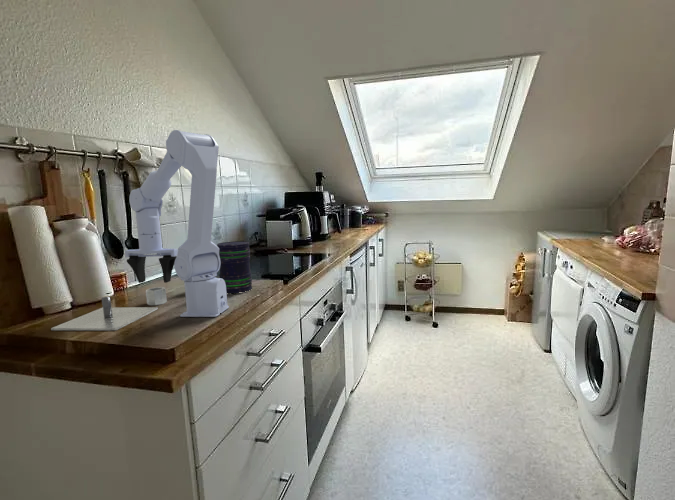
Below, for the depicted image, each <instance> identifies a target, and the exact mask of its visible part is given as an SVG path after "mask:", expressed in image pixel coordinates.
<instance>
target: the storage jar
mask: <svg viewBox="0 0 675 500" xmlns="http://www.w3.org/2000/svg"><path fill="white" fill-rule="evenodd" d="M216 245H217V246H218V247H219V257H220V261H221V265H220V269H219V278H222V279H224V281H225V284H226V292H227V293H239V292H245V291H248V292H250V291H249V290H251V289H252V290H253V286H252V284H253V278H252V271H251V263H250V260H251V250H250V241H246V240H239V241H238V240H237V241H236V240H235V241H226V242H219V243H216ZM252 290H251V291H252ZM245 293H246V292H245ZM239 294H240V293H239Z"/></svg>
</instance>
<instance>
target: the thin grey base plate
mask: <svg viewBox="0 0 675 500" xmlns="http://www.w3.org/2000/svg"><path fill="white" fill-rule="evenodd" d="M101 305H102V307H100V308H97V309H95V310H93V311H91V312H88V313H86V314H83V315H81V316H78V317H75V318H73V319H71V320H68V321H65V322H63V323H60V324H58V325H55V326H53V327H51V328H50V330H51V331H91V332H92V331H93V332H95V331H102V332H103V331H106V332H107V331H110V332H111V331H114V332H116V331H118V330H120V329H122V328H124V327H126V326H128V325H130V324H131V323H134V322H136V321H138V320H140V319H141V318H143V317H145V316H147V315H149V314H151V313H153V312H156V311H157V310H158V306H157V307H154V306H151V307H148V306H147V307H146V306H145V307H142V306H141V307H140V306H139V307H138V306H137V307H112V301H111V296H102V297H101Z"/></svg>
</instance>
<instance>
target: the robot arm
mask: <svg viewBox="0 0 675 500" xmlns="http://www.w3.org/2000/svg"><path fill="white" fill-rule="evenodd" d="M165 147H166V148H165V149H166V153H165V155H164V157H163V158H162V161H161V163H160V164H159V167H158V168H157V170H153V171H150V172H149V173H148V176H146V178H145V181H143V183H142V185H141V186H140V187H138V188H135V189H132V190H131V191H130V194H129V197H128V198H129V205H130V207H131V209H132V211H134V212H135V213H134V214H135V219H136V220H135V221H136V229H137V239H138V248H137V249H127V250H124V254H125V258H128V259H126V263H127V264H128V265H129V266H130V268H131V269H132V270H133V272H134V275H135V277H136V279H137V282H138V283H139V284H142V283H144V282H146V271H145V270H146V259H147V257H148V258H149V257H150V258H151V257H159V258H158V261H159V264H160V266H161V271H162V278H163V283H164V284H165V283H166V284H167V283H170V282H171V279H172V273H173V269H174V271H175V274H176V275H177V277H179V279H180V280H181V281H183V283H184V292H185V302H186V303H185V304H186V311H184V312H182V313H181V314H179V316H180V318H181V317H183V318H184V317H185V318H190V317H191V318H205V317H206V318H209V317H210V318H217V317H218V316H219V315H221V314H222V313H224V312H225V311H226V310H227V309H229V307H230V306H229V305H228V296H227V295H228V294H227V292H226V284H225V281H224V279H222V278H220V277H217V276H218V274H217V273H218V272H220V265H221V261H220V257H219V247H218V246H217V244H216V243H214V242H213V241H212V233H213V231H212V230H213V222H214V221H213V220H214V208H215V198H216V197H215V195H216V186H217V175H218V171H217V170H218V169H217V168H218V158H219V148H220V147H219V144H218V143H217V141H216V140H215V138H214V137H213V136H212V135H211V134H208V133H206V134H205V133H204V134H201V133H195V132H190V131H183V130H180V129H174V130H172V131H171V132H170V133H169V135H168V137H167V138H166V140H165ZM181 167H182V168H183V169H186V170H187V171H188V172H189V173H190V174H191V183H190V199H189V213H188V224H187V225H188V226H187V227H188V229H187V239H186V240H185V241H184V242H183V243H181V245H180V246H179V247H178V248H169V247H168V248H164V247H163V240H162V230H161V222H160V219H161V218H160V217H161V216H162V207H163V198H164V196H165V195H166V193H167V192H168V191H169V190H170V188H171V186H172V180H171V178H172V177H173V176H174V175H175V174H176V173H177V172H178V171H179V169H180V168H181ZM220 313H221V314H220Z"/></svg>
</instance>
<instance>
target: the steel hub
mask: <svg viewBox="0 0 675 500" xmlns="http://www.w3.org/2000/svg"><path fill="white" fill-rule="evenodd" d="M144 291H145V297H146V305H148V306H159V305H160V306H161V305H164V304H166V303H168V299H167V298H168V297H167V290H166V287H164V286H157V287H156V286H155V287H149V288H147V289H145V290H144Z"/></svg>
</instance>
